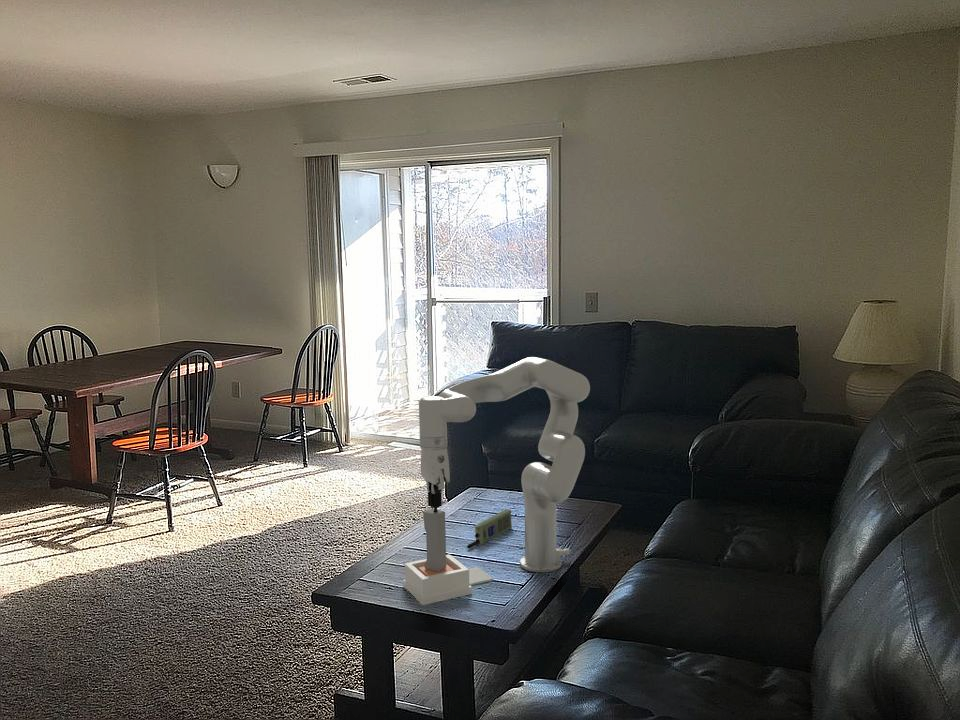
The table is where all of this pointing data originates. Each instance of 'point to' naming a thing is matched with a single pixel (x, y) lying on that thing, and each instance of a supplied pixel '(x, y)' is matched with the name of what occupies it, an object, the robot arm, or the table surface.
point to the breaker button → (430, 572)
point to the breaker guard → (437, 582)
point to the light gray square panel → (478, 576)
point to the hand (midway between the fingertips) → (434, 505)
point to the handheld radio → (492, 527)
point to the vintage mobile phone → (435, 539)
